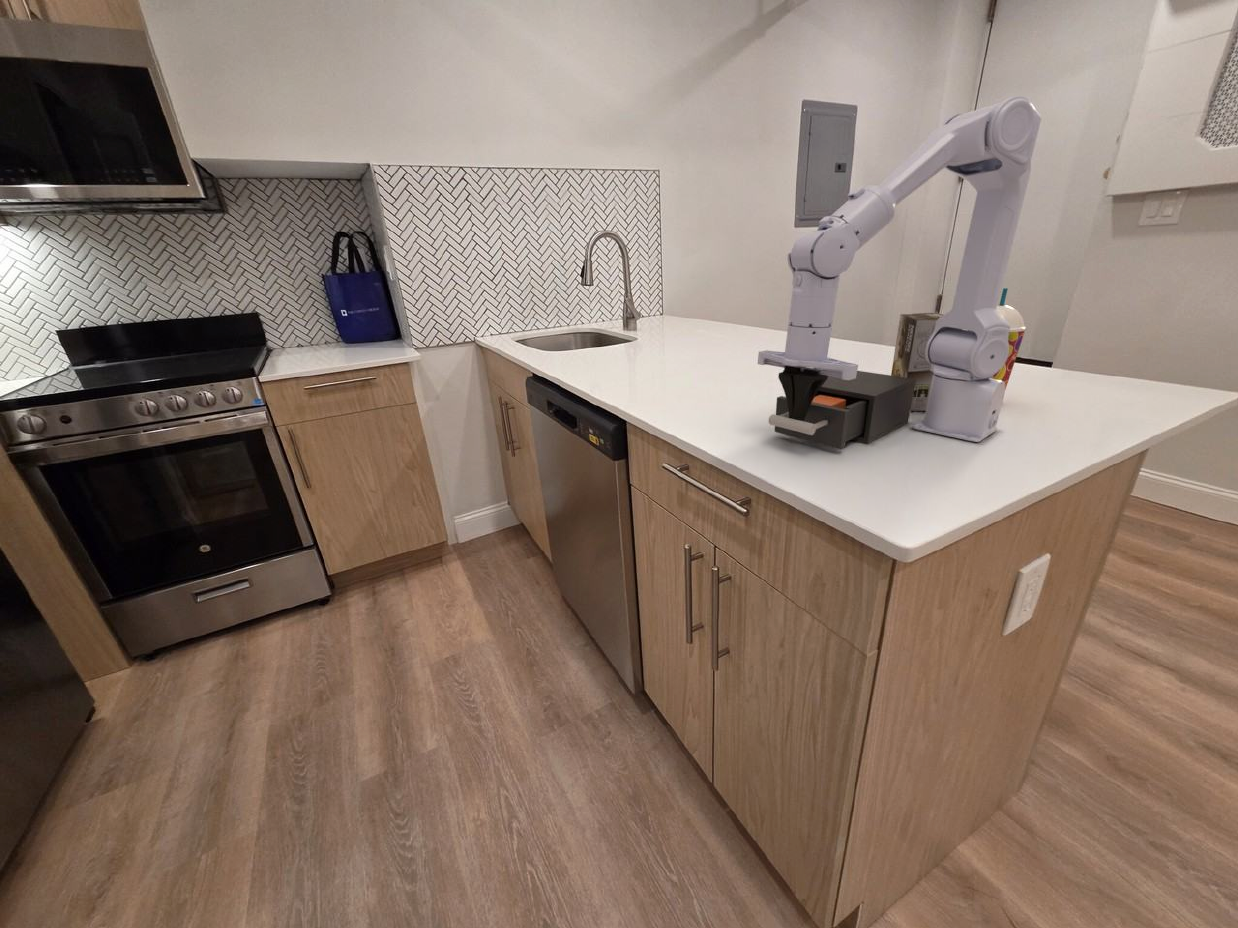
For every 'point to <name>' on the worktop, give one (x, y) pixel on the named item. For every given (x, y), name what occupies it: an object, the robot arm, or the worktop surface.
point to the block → (830, 401)
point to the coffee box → (915, 354)
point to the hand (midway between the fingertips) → (796, 419)
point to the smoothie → (1010, 337)
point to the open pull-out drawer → (823, 421)
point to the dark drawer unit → (877, 400)
